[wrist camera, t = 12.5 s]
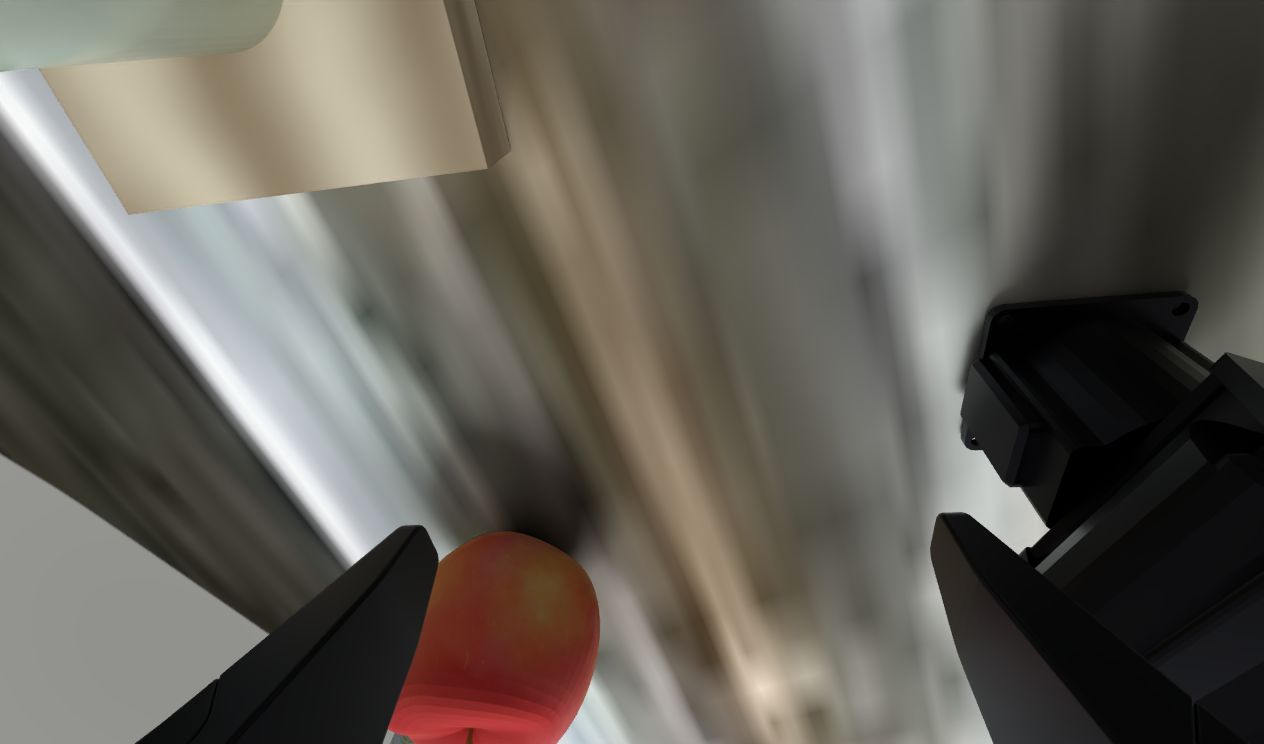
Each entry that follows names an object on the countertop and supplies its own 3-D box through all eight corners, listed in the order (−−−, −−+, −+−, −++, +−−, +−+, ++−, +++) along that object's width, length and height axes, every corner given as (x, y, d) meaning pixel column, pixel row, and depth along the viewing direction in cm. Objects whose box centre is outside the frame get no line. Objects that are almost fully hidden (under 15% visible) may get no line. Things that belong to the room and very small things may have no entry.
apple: (405, 531, 31) (296, 726, 23) (532, 462, 27) (457, 665, 19) (523, 625, 35) (467, 822, 26) (649, 575, 31) (630, 787, 23)
